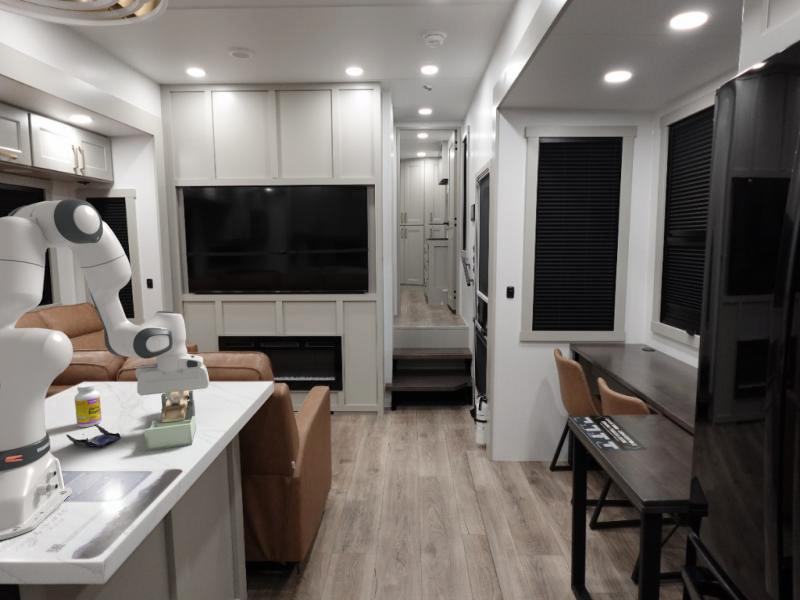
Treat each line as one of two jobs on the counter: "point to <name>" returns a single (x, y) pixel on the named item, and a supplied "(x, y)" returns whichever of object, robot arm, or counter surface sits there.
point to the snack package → (97, 438)
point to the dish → (170, 434)
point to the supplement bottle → (87, 405)
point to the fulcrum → (189, 410)
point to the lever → (175, 408)
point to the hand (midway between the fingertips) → (175, 404)
